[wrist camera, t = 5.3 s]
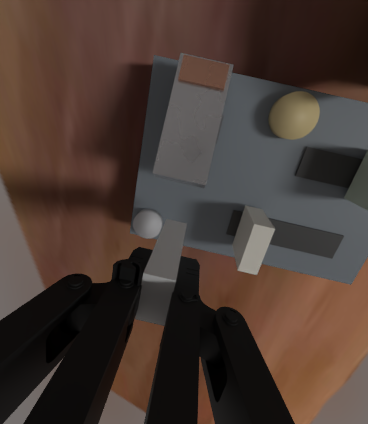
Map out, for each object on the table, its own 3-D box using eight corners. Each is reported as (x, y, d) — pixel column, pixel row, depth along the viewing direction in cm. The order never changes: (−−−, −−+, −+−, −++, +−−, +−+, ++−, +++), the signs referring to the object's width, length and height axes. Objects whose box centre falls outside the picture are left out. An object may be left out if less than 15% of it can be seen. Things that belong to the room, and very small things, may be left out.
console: (161, 65, 20) (149, 48, 15) (413, 121, 19) (471, 120, 15) (138, 221, 25) (124, 240, 21) (334, 266, 25) (360, 295, 21)
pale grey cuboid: (245, 205, 20) (254, 224, 16) (262, 209, 20) (275, 228, 16) (232, 244, 21) (237, 270, 17) (247, 248, 21) (256, 274, 17)
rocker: (181, 68, 16) (180, 50, 15) (228, 79, 16) (234, 62, 15) (155, 177, 16) (152, 172, 14) (203, 188, 16) (206, 184, 14)
